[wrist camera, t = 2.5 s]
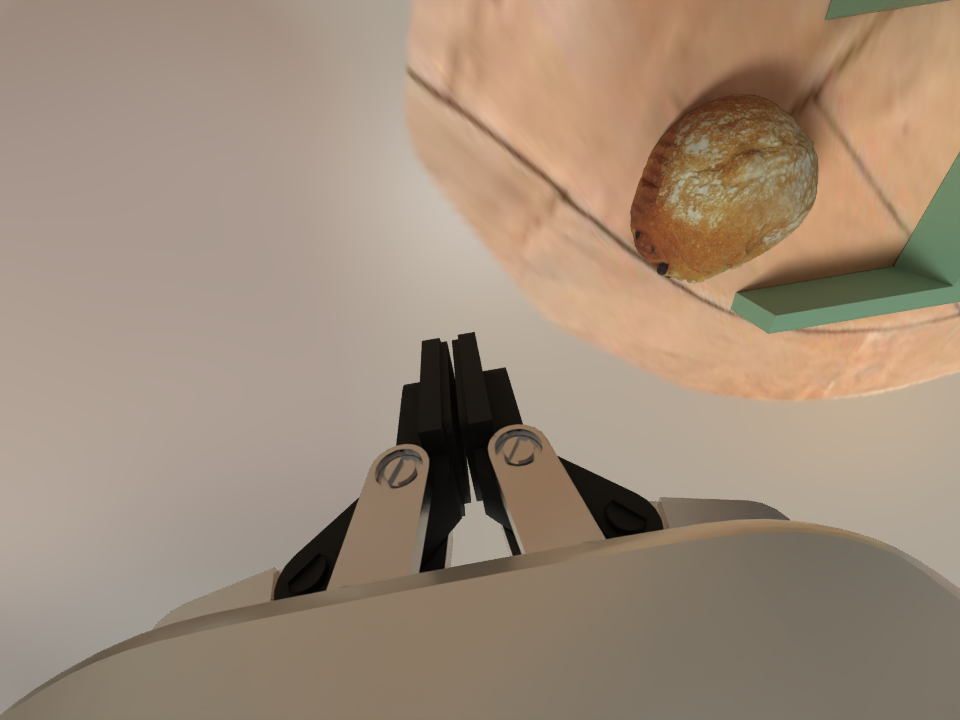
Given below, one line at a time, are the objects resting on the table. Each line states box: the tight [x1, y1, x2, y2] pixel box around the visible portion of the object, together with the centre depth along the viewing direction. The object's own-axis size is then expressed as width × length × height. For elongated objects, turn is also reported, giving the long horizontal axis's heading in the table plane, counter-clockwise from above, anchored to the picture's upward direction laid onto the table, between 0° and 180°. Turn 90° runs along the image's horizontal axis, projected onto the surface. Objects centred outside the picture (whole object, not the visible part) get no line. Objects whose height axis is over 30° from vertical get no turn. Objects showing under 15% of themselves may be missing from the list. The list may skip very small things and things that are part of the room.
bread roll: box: [630, 95, 818, 283], centre depth 21 cm, size 10×10×8 cm
